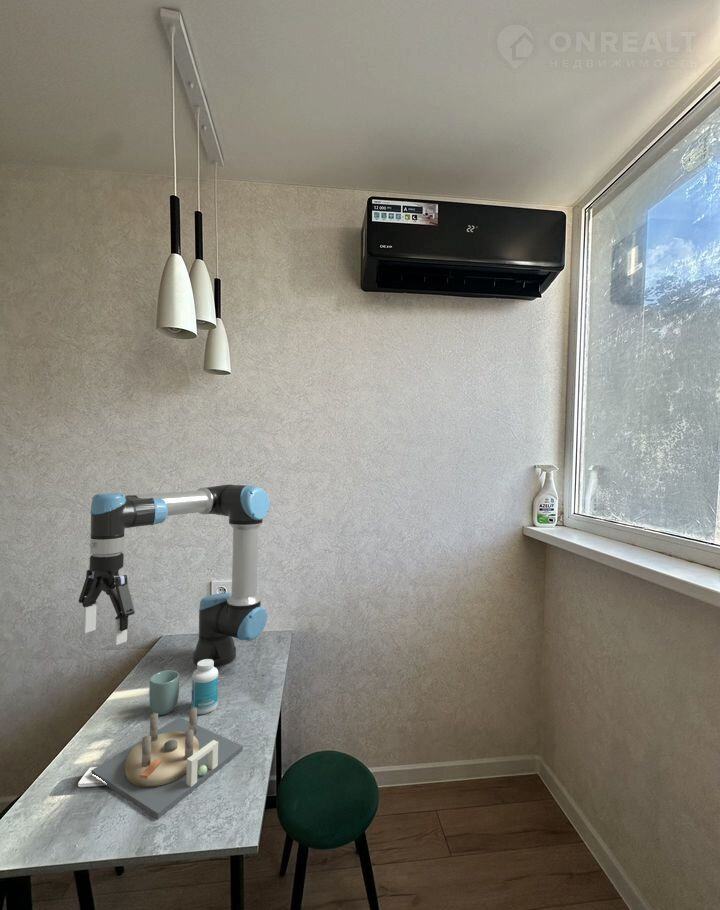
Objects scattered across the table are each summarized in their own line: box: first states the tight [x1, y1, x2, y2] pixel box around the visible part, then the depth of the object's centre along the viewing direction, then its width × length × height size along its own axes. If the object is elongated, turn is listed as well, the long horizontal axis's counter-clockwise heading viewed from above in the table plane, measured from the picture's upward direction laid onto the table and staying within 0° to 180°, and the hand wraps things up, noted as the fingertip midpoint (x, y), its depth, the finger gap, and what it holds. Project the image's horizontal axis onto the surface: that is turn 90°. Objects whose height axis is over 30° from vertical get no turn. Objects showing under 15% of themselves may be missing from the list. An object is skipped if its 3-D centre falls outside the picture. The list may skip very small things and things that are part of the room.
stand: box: [90, 716, 244, 820], centre depth 104 cm, size 24×24×7 cm
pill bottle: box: [190, 659, 219, 715], centre depth 126 cm, size 8×7×14 cm
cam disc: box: [125, 707, 199, 787], centre depth 102 cm, size 17×16×8 cm
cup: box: [148, 669, 180, 716], centre depth 125 cm, size 8×8×10 cm
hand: (104, 637), depth 109 cm, fingers open, 13 cm apart
